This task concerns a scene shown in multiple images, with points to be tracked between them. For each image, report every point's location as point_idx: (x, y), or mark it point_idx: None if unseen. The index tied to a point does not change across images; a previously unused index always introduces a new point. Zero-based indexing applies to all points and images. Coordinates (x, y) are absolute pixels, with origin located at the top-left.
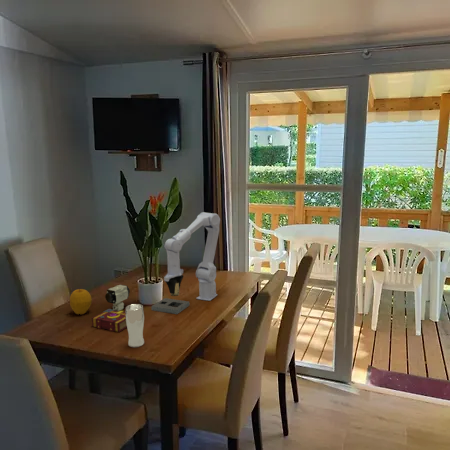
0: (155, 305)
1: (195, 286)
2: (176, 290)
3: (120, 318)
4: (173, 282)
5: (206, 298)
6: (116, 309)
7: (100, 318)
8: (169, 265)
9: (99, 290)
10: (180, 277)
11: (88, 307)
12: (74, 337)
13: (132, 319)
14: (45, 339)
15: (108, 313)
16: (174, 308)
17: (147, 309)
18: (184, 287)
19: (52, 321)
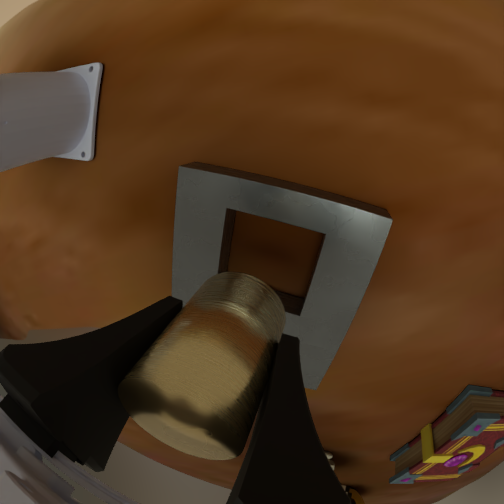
0: (303, 375)
1: (11, 224)
2: (255, 333)
3: (496, 434)
4: (341, 500)
5: (87, 92)
6: (330, 460)
7: (472, 467)
8: None
9: (175, 467)
10: (51, 407)
11: None
12: (496, 451)
13: None
14: (479, 474)
15: (431, 472)
16: (355, 250)
17: None
18: (30, 265)
19: (387, 500)
